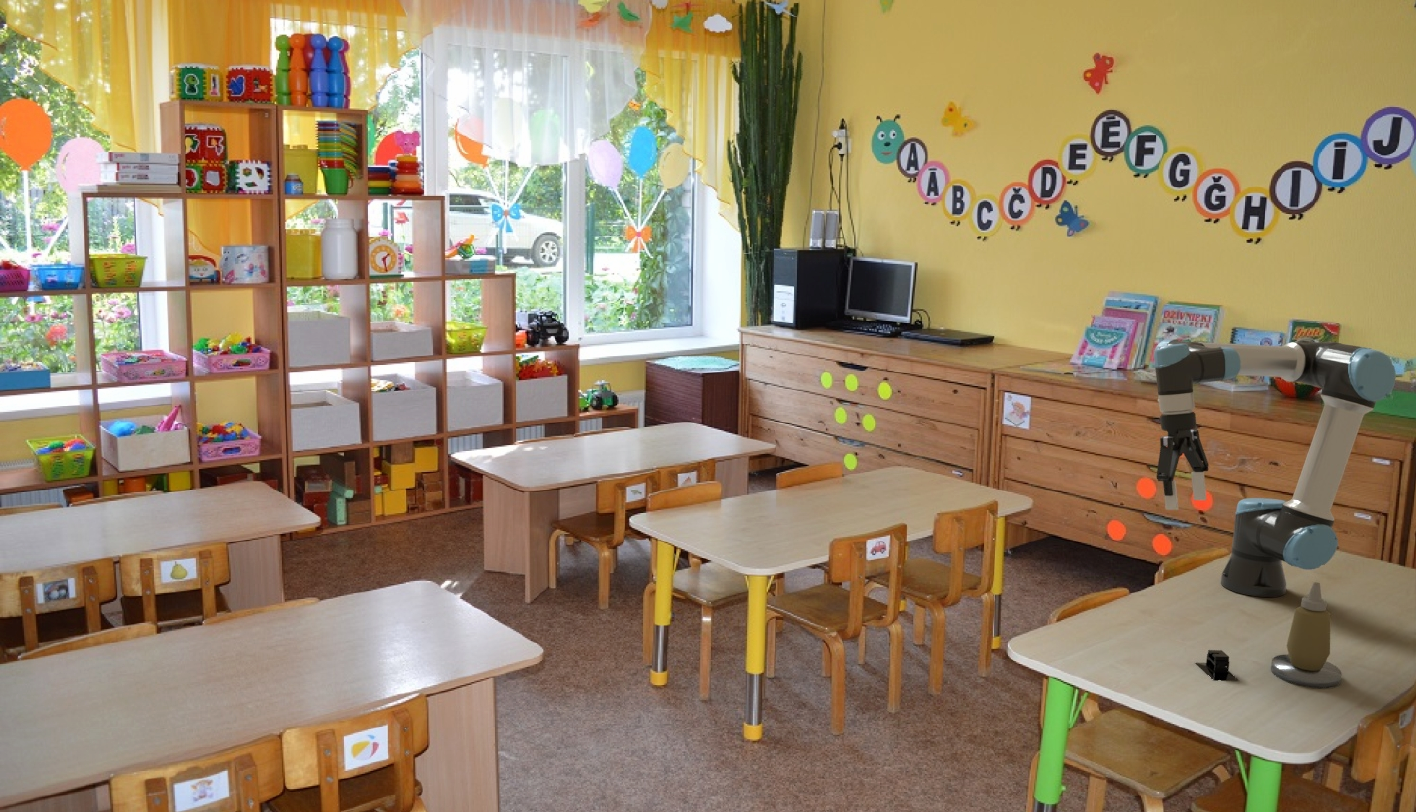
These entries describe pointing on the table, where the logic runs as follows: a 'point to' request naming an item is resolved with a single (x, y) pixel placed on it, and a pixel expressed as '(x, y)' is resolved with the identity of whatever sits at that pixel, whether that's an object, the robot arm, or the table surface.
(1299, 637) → the squeeze bottle
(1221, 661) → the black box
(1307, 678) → the cap
